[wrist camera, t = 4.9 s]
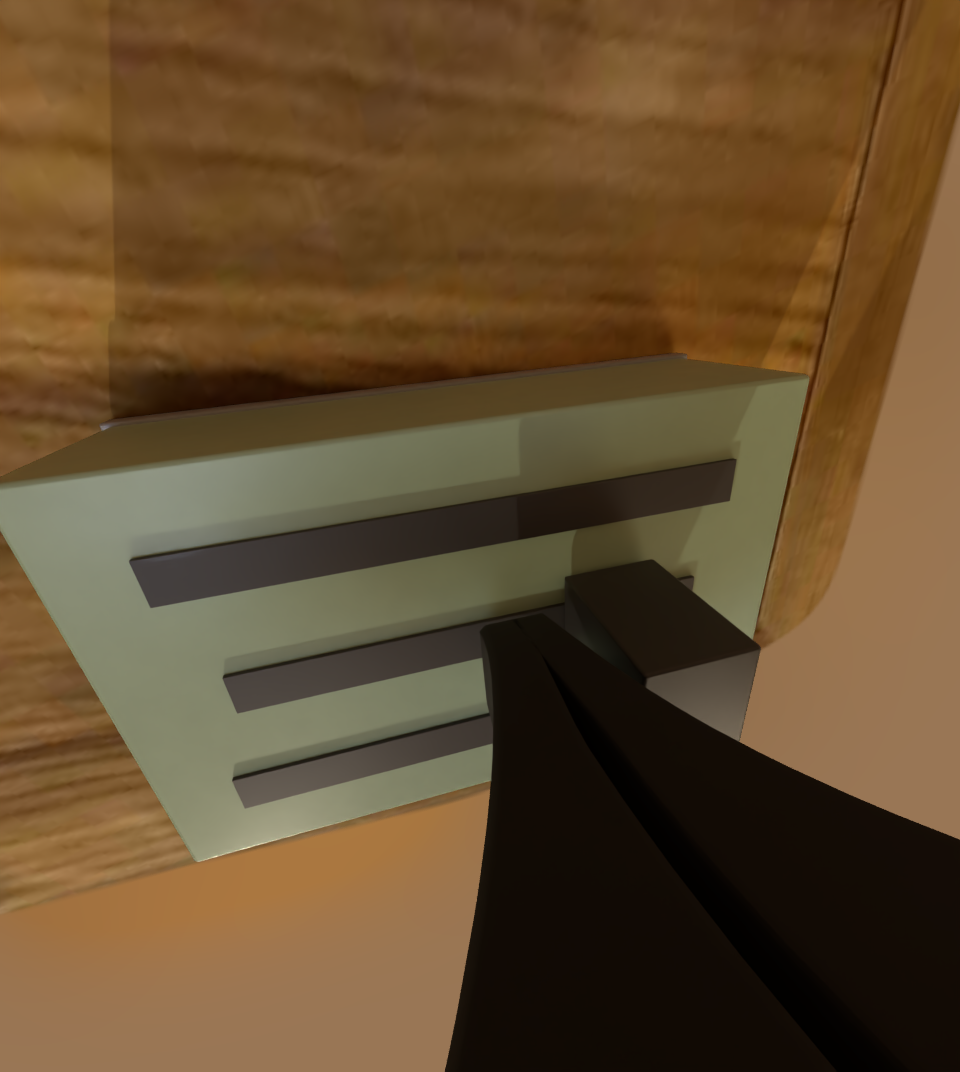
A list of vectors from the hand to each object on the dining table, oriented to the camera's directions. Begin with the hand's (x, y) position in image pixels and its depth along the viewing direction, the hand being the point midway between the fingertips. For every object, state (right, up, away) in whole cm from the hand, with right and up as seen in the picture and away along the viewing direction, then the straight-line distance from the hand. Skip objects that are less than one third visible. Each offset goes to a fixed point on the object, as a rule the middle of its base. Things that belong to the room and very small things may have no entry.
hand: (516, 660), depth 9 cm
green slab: (-2, +2, +5) cm, 5 cm away
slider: (+2, +1, +1) cm, 2 cm away
